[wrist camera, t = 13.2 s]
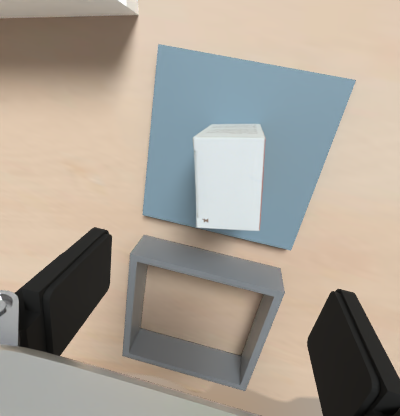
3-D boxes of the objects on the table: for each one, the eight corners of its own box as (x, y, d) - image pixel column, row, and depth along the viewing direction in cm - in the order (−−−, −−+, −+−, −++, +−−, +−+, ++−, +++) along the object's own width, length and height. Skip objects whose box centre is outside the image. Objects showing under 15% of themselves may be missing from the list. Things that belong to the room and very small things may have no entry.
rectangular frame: (280, 268, 37) (284, 292, 33) (245, 361, 45) (245, 391, 41) (144, 234, 39) (130, 253, 34) (134, 330, 47) (122, 355, 43)
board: (350, 80, 27) (355, 80, 26) (289, 244, 35) (291, 250, 34) (162, 46, 29) (158, 44, 27) (146, 210, 37) (142, 214, 36)
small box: (257, 192, 32) (260, 234, 22) (211, 190, 33) (195, 230, 23) (261, 122, 29) (267, 136, 19) (210, 122, 30) (191, 136, 20)
